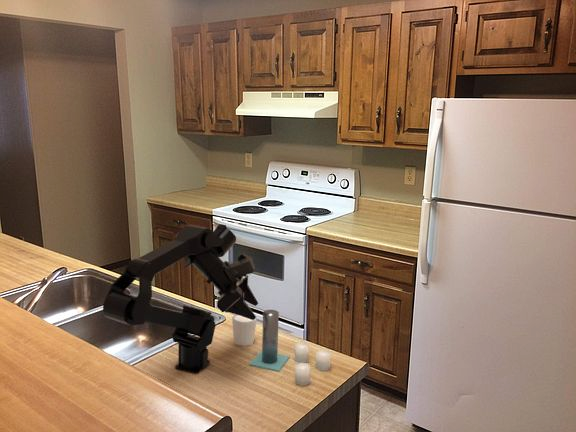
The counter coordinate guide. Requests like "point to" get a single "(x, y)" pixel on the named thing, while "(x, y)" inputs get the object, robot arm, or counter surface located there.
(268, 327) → the dark metallic domed cylinder
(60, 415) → the counter surface
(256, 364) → the teal pad
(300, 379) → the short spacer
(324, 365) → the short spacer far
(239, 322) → the white cylinder
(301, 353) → the cylinder
